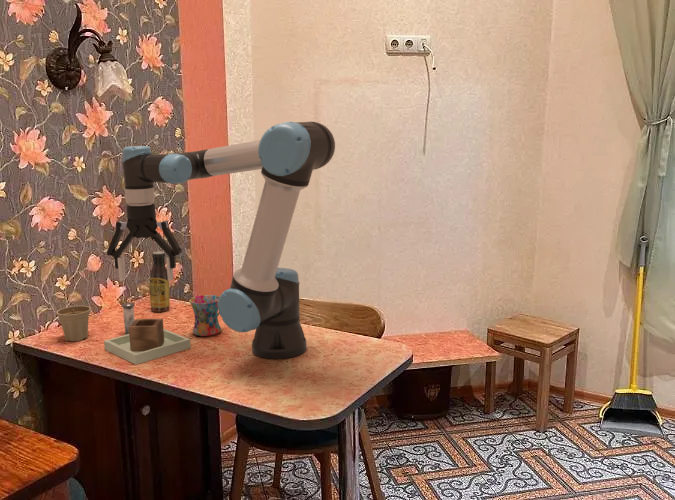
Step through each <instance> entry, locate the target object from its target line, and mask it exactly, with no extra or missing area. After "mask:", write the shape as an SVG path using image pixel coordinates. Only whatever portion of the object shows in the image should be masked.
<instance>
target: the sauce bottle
mask: <svg viewBox="0 0 675 500" xmlns="http://www.w3.org/2000/svg"><path fill="white" fill-rule="evenodd" d="M151 256H152V268H151V270H150V274H149V299H150V300H149V303H150V310H151V312H153V313H164V312H167V311H169V310H170V305H171V303H170V302H171V301H170V281H168V276H167V266H166V263H165V262H166V260H165V259H166V258H165V257H166V252H165V251H159V250H158V251H153V252H152V254H151Z"/></svg>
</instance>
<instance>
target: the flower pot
mask: <svg viewBox="0 0 675 500" xmlns="http://www.w3.org/2000/svg"><path fill="white" fill-rule="evenodd" d="M91 310H92V308H91V307H90V306H88V305H71V306H66V307H61V308H60V309H57V310H56V315H57V316H58V319H59V321H60V323H61V328H62V332H63V335H64V339H65V340H66V341H70V342H76V341H77V342H78V341H82V340H84V339H87V338H88V335H89V318H90V311H91Z"/></svg>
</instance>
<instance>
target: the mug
mask: <svg viewBox="0 0 675 500" xmlns="http://www.w3.org/2000/svg"><path fill="white" fill-rule="evenodd" d="M219 297H220V295H215V294H214V295H213V294H205V295H204V294H203V295H196V296H193V297H191V298H189V300H188V301H189V303H190V306H191V308H192V310H193V314H194V315H193V316H194V326H193V329H192V334H194V335H196V336H200V337H209V336H210V337H211V336H215V335H217V334H219V333H220V332H221V331H222V327H221V325H220V323H219V316H220V314H219V311H218V300H219Z"/></svg>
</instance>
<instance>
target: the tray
mask: <svg viewBox="0 0 675 500" xmlns="http://www.w3.org/2000/svg"><path fill="white" fill-rule="evenodd" d="M103 342H104V343H103V345H104V351H107V352H109V353H111V354H114V355H115V356H117V357H120V358H121V359H123V360H126V361H127V362H129V363H131V364H133V365H136V366H137V365H140V364H143V363H147V362H149V361H152V360H157V359H159V358H162V357H165V356H169V355H172V354H176V353H179V352H183V351H186V350H188V349H191V345H192V344H191V339H190V338H188V337H186V336H183V335H181V334H177V333H176V332H174V331H171V330H167V329H165V328H164V343H163V345H162V346H160V347H157V348H154V349H150V350H147V351H141V352H132V351H131V350H130V338H129V334H127V335H126V334H123V335H121V336H115V337H113V338H109V339H105V340H104V341H103Z"/></svg>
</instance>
